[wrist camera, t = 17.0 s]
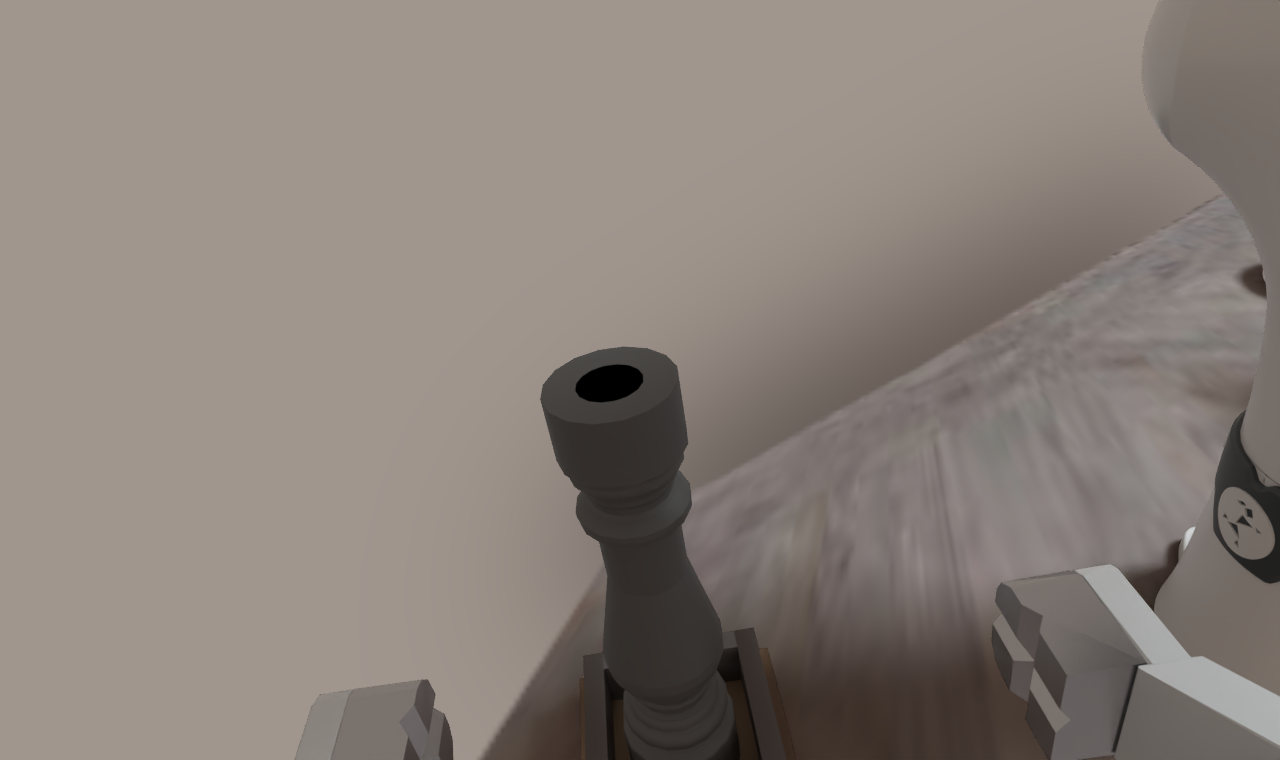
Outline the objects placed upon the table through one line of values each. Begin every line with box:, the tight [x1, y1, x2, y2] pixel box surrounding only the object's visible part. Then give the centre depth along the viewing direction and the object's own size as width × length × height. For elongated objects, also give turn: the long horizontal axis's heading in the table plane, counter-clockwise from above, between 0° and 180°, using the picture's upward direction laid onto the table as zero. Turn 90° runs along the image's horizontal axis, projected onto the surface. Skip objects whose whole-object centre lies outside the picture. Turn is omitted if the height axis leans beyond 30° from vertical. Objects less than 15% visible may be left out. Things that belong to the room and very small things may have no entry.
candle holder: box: [540, 347, 740, 760], centre depth 39 cm, size 6×6×25 cm
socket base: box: [580, 628, 796, 760], centre depth 45 cm, size 12×12×4 cm
